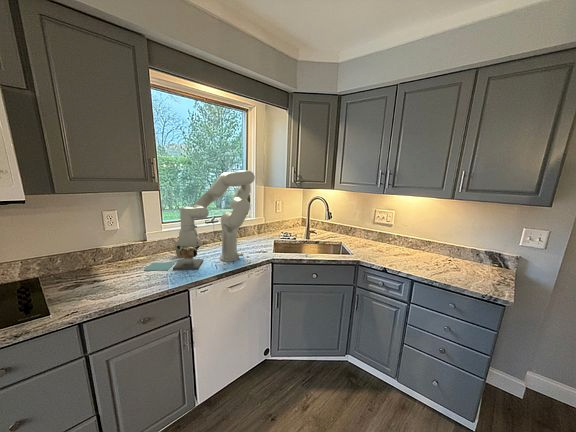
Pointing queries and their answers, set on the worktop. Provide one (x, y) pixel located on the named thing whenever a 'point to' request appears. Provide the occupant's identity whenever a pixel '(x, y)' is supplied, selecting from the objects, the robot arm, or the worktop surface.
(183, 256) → the walnut link
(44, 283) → the worktop surface
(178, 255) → the flower pot
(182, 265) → the stand
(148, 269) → the mat
